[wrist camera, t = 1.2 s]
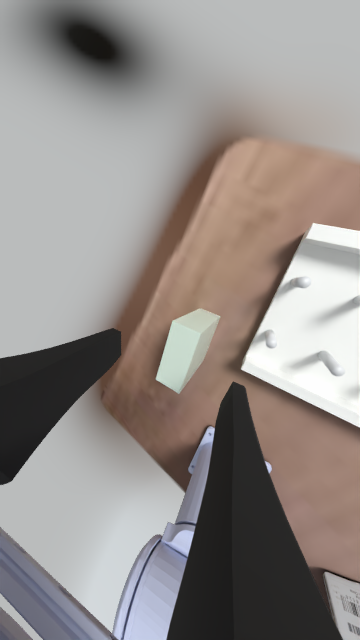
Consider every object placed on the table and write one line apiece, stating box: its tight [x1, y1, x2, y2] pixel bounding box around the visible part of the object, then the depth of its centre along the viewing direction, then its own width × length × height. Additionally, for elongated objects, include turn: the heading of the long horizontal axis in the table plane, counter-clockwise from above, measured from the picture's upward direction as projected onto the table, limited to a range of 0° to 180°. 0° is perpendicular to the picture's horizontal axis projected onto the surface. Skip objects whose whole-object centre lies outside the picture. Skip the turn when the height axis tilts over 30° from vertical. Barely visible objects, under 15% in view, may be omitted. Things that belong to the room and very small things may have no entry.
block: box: [156, 308, 221, 393], centre depth 17 cm, size 6×2×7 cm, turn 162°
